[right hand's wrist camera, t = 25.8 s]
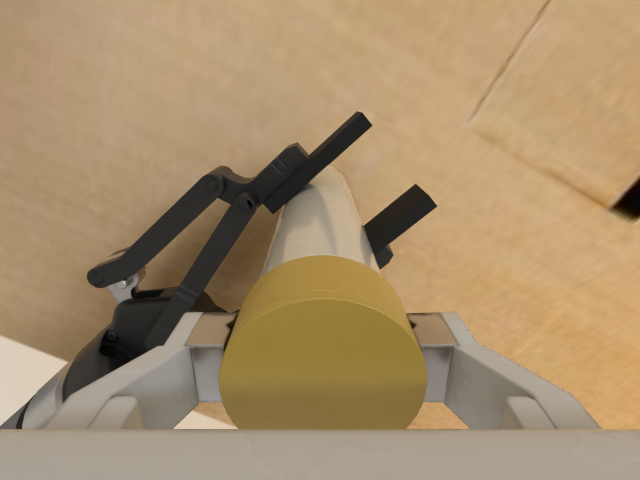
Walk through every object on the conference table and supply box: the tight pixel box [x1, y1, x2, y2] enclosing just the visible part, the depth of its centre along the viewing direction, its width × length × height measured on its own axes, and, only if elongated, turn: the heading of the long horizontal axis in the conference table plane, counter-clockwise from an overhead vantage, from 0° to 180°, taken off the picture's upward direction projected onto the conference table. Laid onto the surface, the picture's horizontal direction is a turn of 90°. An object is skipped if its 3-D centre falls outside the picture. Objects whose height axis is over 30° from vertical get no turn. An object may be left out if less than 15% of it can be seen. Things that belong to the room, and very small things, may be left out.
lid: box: [218, 255, 427, 429], centre depth 10 cm, size 5×5×2 cm
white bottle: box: [259, 165, 382, 279], centre depth 18 cm, size 4×4×18 cm
